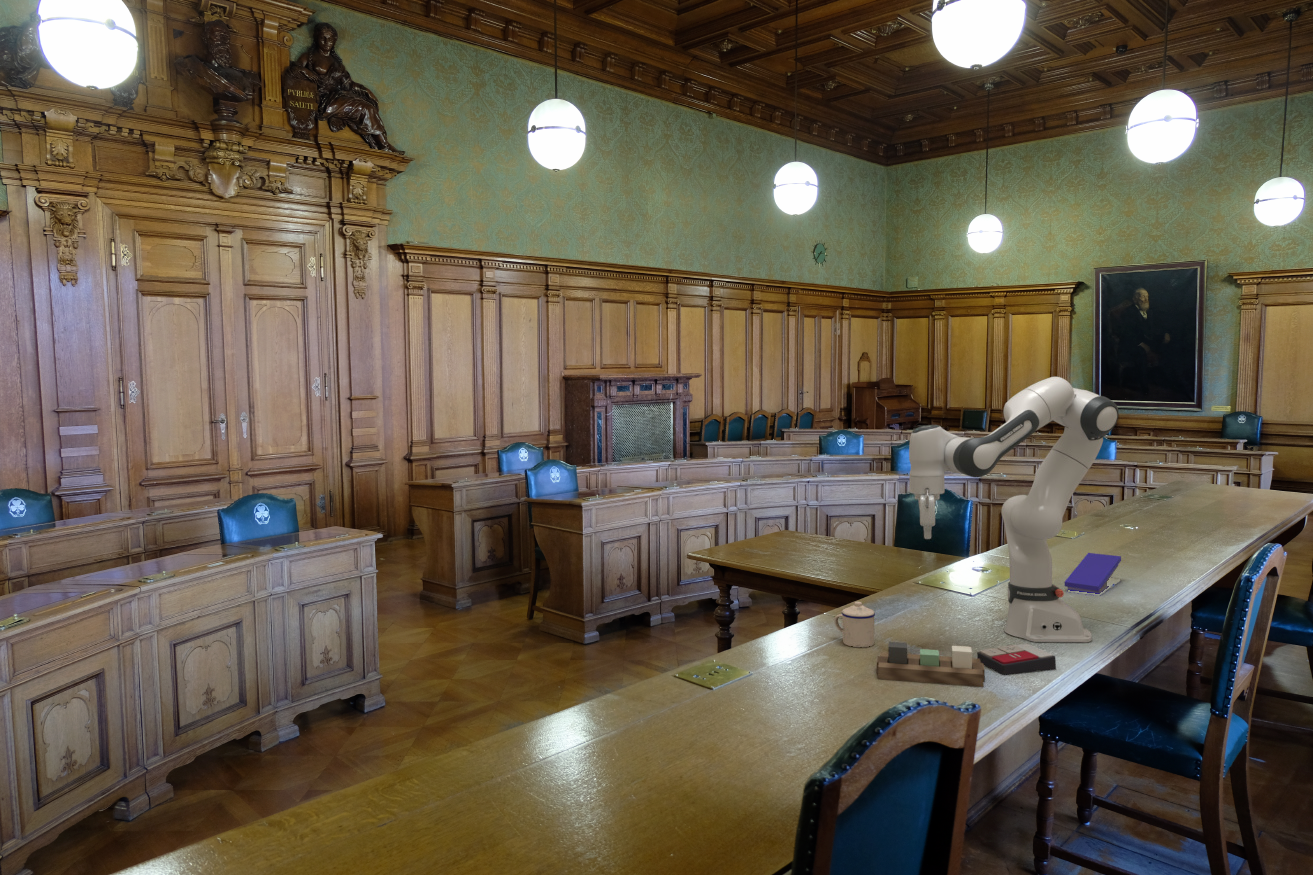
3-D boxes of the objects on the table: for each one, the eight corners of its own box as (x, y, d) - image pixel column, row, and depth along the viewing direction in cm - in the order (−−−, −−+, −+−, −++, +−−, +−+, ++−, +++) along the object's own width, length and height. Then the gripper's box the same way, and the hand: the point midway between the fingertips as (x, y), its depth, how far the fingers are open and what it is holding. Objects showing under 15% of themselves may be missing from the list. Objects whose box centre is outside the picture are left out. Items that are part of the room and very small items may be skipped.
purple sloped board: (1122, 582, 294) (1122, 555, 294) (1101, 597, 274) (1101, 568, 273) (1087, 578, 302) (1087, 551, 301) (1064, 592, 281) (1064, 564, 281)
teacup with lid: (881, 642, 230) (880, 601, 230) (865, 650, 224) (864, 607, 223) (843, 634, 238) (842, 595, 238) (826, 642, 232) (826, 601, 231)
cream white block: (971, 666, 202) (970, 646, 202) (972, 672, 198) (971, 652, 198) (952, 665, 203) (951, 645, 203) (952, 671, 199) (952, 650, 199)
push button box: (976, 649, 212) (1026, 640, 215) (976, 665, 212) (1027, 656, 215) (1002, 662, 201) (1056, 653, 204) (1003, 679, 201) (1056, 670, 204)
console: (982, 670, 205) (982, 658, 205) (985, 686, 193) (985, 674, 193) (878, 663, 212) (878, 651, 212) (876, 678, 201) (876, 666, 201)
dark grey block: (907, 662, 207) (907, 642, 206) (907, 667, 202) (906, 647, 202) (889, 660, 208) (889, 641, 208) (888, 666, 204) (888, 646, 203)
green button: (938, 669, 204) (938, 650, 204) (939, 675, 200) (939, 655, 200) (920, 668, 206) (920, 648, 205) (920, 674, 201) (920, 654, 201)
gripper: (940, 490, 207) (941, 545, 208) (938, 482, 226) (939, 532, 227) (914, 490, 209) (914, 544, 210) (914, 482, 228) (915, 531, 229)
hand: (927, 538), depth 218 cm, fingers closed
